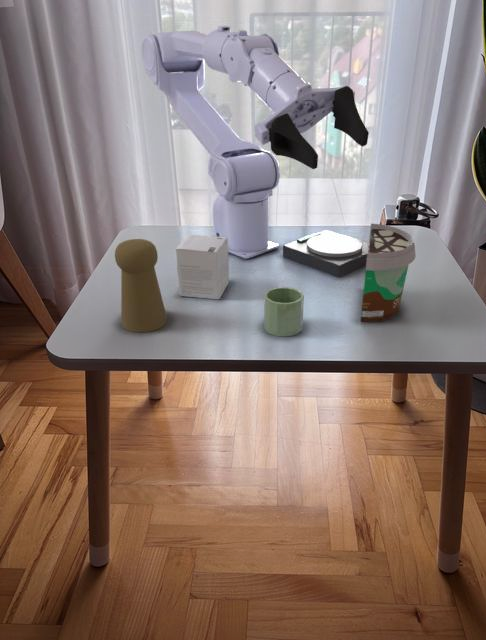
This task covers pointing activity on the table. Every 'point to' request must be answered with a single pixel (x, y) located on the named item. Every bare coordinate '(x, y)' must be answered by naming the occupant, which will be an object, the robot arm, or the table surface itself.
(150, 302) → the olive yellow pawn
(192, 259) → the product carton
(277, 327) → the green cup
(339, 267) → the kitchen scale
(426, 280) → the table surface
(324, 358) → the table surface
